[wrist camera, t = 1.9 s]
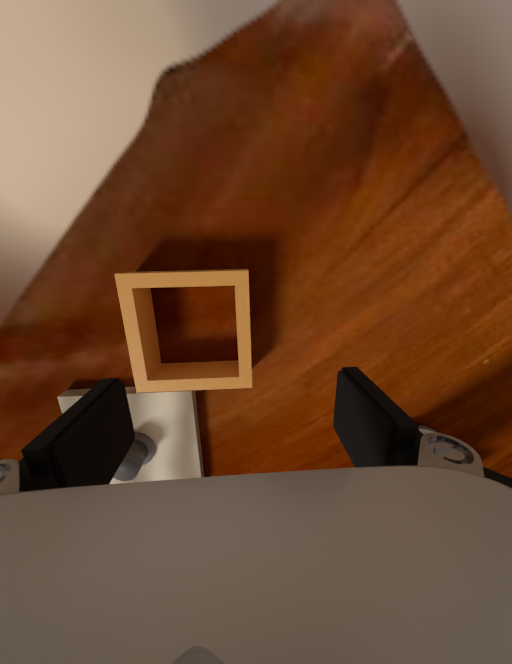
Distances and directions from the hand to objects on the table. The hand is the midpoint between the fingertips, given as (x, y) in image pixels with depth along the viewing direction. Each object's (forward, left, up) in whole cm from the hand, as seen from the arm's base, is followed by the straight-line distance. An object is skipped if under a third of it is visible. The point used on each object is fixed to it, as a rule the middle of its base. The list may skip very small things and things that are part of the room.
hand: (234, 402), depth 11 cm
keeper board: (+13, +14, -16) cm, 25 cm away
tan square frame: (+5, 0, -16) cm, 16 cm away
